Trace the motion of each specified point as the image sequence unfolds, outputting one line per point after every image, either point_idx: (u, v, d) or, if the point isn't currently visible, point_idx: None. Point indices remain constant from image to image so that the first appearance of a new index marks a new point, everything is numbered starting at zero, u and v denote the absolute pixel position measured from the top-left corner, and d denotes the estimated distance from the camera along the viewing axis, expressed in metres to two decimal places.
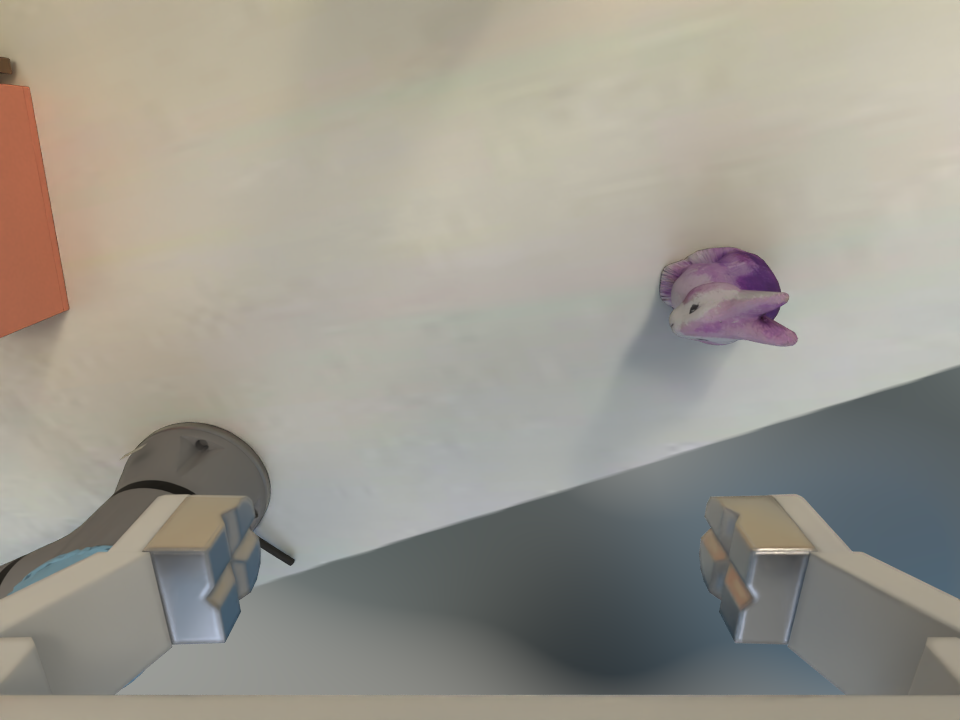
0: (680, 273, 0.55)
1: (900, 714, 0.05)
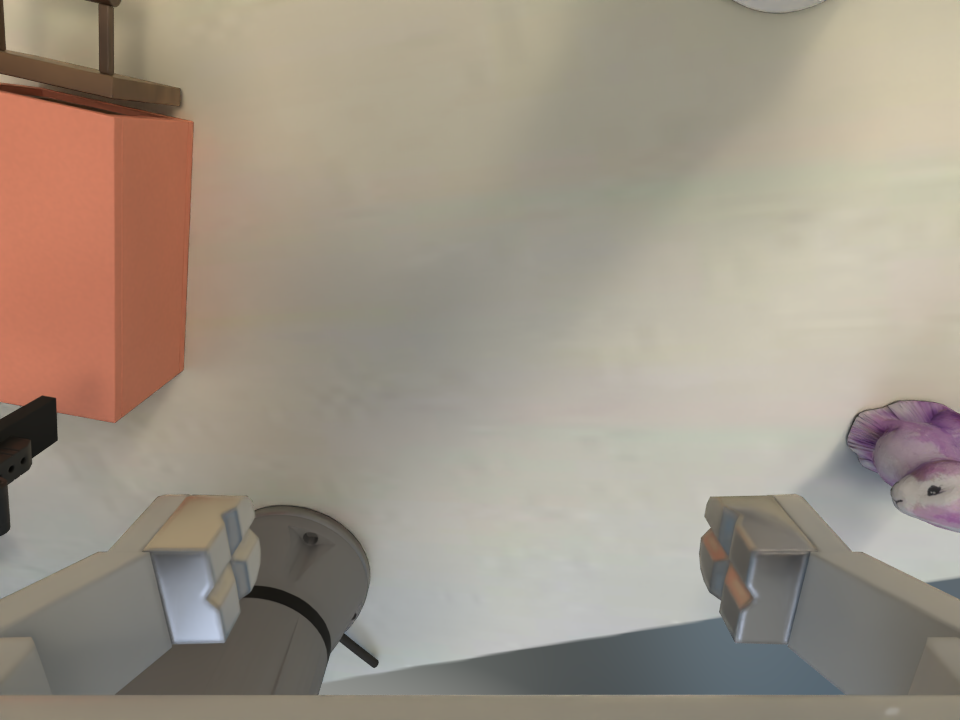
0: (886, 427, 0.49)
1: (900, 714, 0.05)
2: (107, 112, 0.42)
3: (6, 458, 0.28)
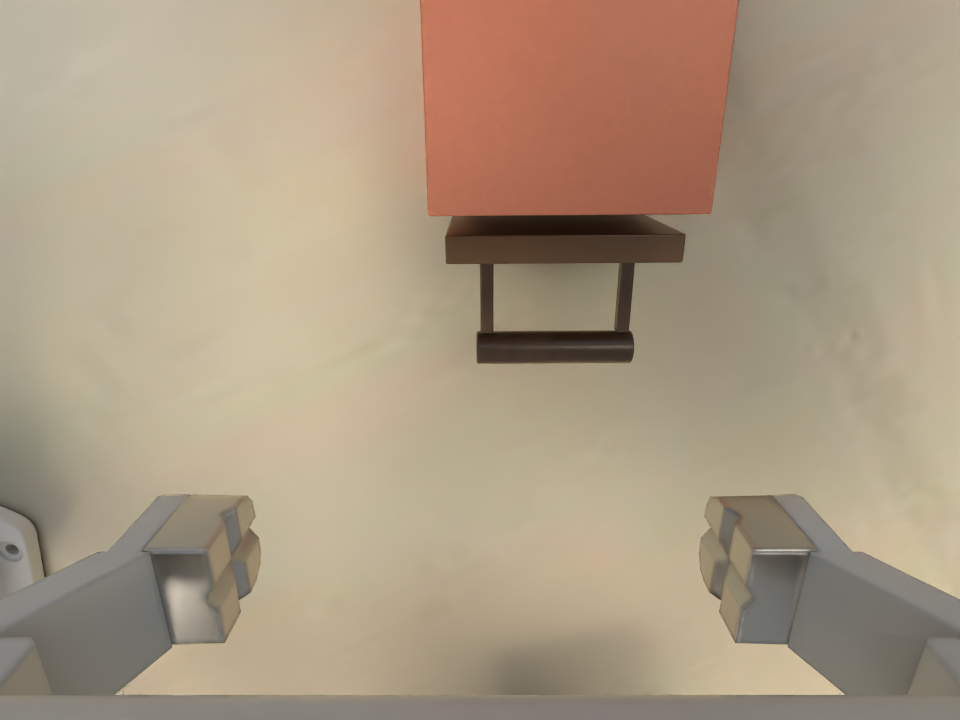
0: None
1: (900, 714, 0.05)
2: None
3: None
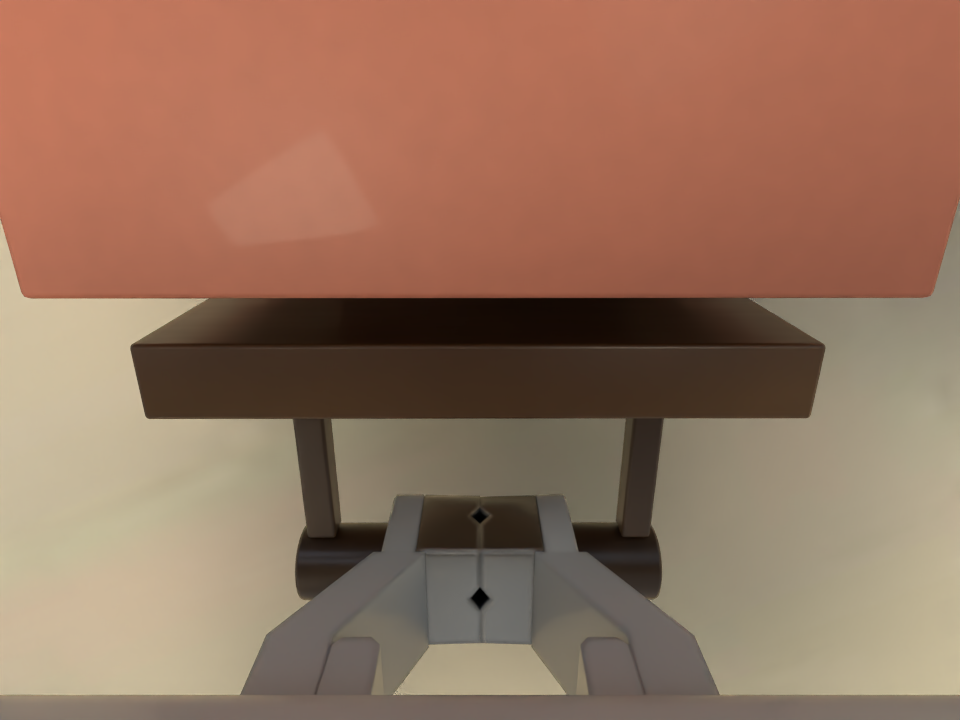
0: None
1: (900, 714, 0.05)
2: None
3: None
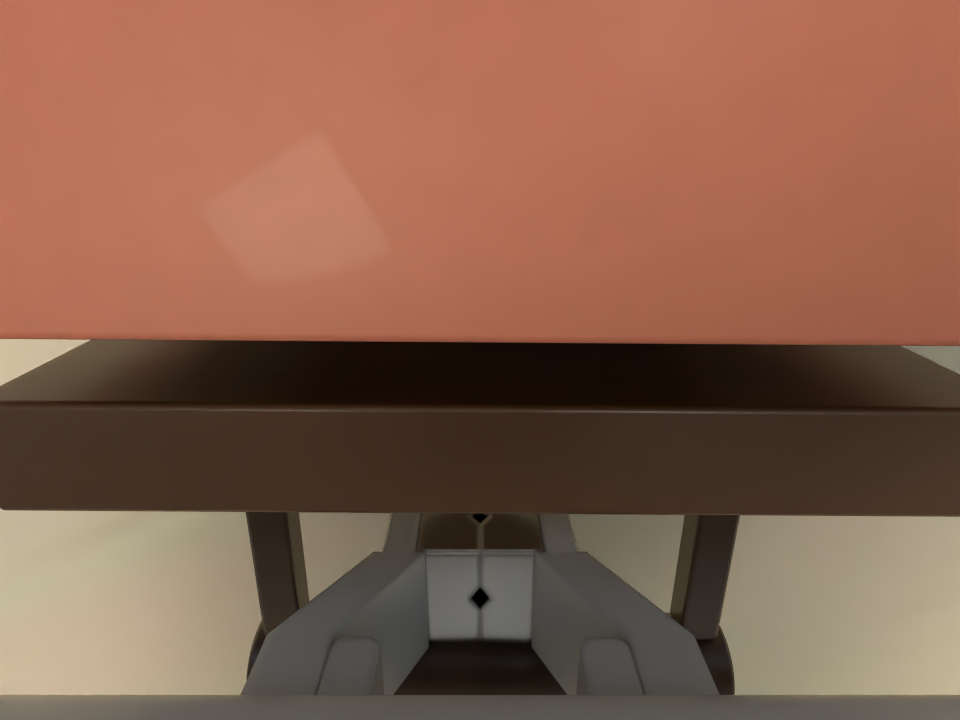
0: None
1: (900, 714, 0.05)
2: None
3: None
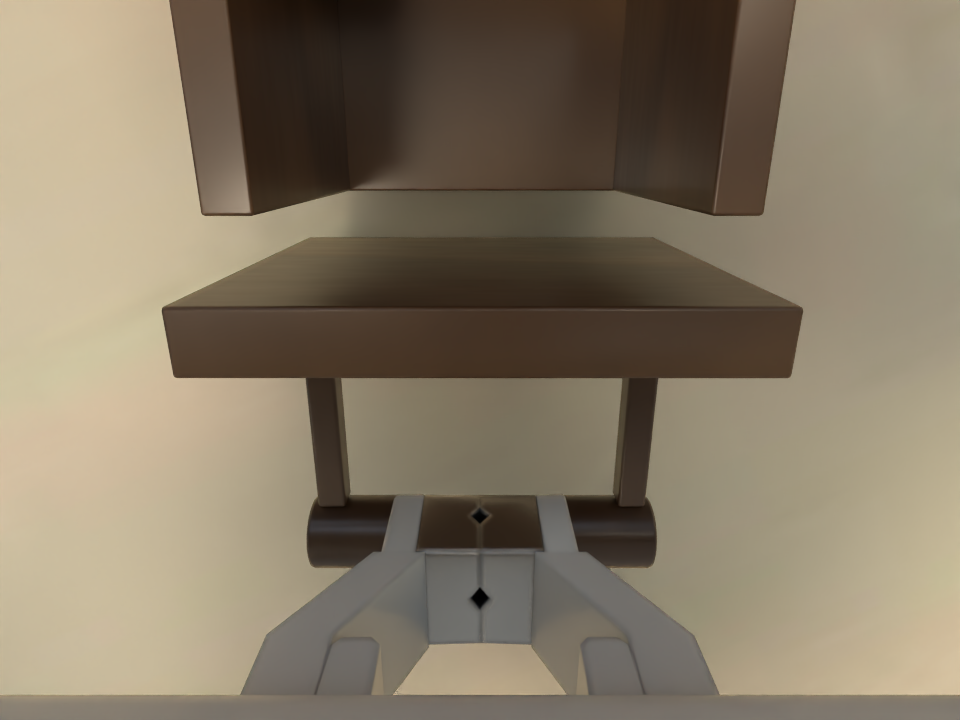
0: None
1: (900, 714, 0.05)
2: (462, 187, 0.15)
3: None
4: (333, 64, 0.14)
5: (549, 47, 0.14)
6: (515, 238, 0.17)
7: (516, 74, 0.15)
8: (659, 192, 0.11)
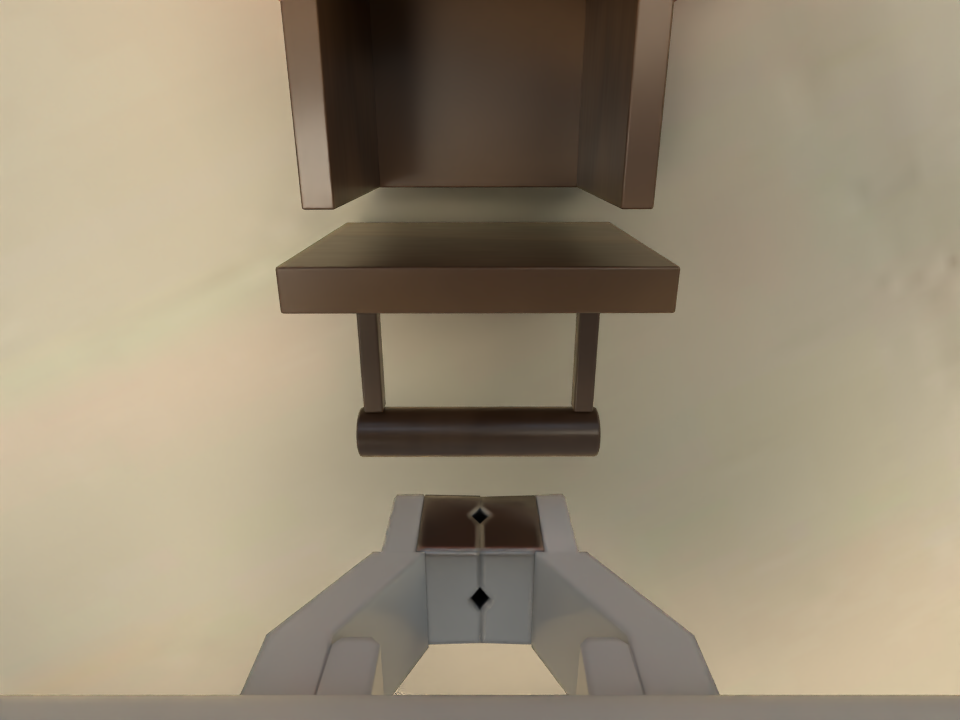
0: None
1: (900, 714, 0.05)
2: (463, 185, 0.21)
3: None
4: (370, 96, 0.19)
5: (527, 81, 0.20)
6: (504, 223, 0.22)
7: (503, 101, 0.20)
8: (599, 191, 0.17)
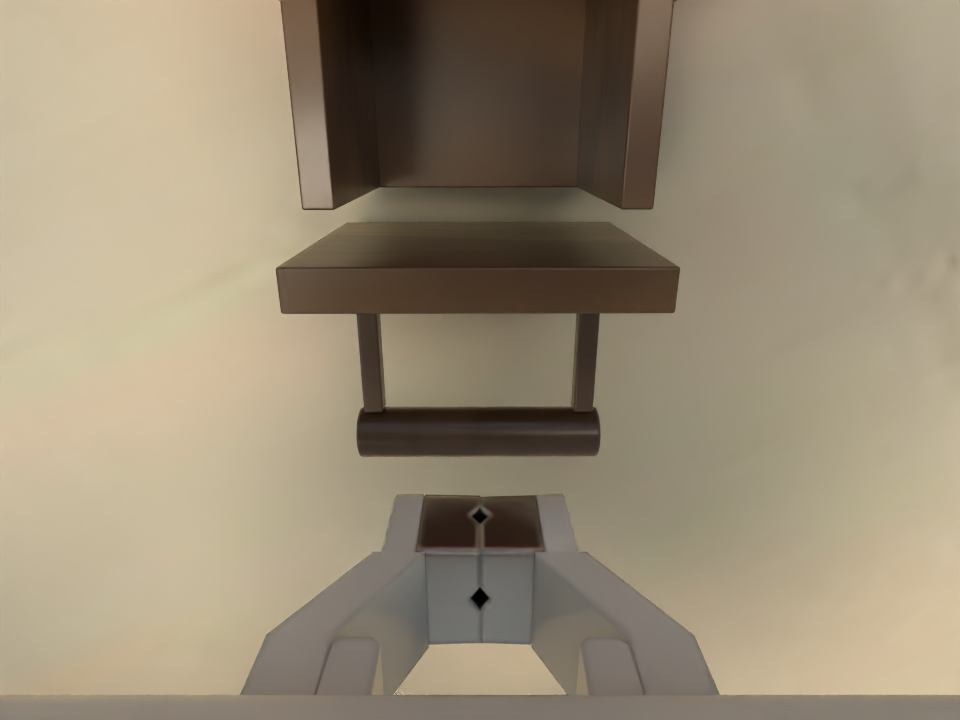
0: None
1: (900, 714, 0.05)
2: (463, 185, 0.21)
3: None
4: (370, 96, 0.19)
5: (527, 82, 0.20)
6: (504, 223, 0.22)
7: (503, 101, 0.20)
8: (599, 191, 0.17)
